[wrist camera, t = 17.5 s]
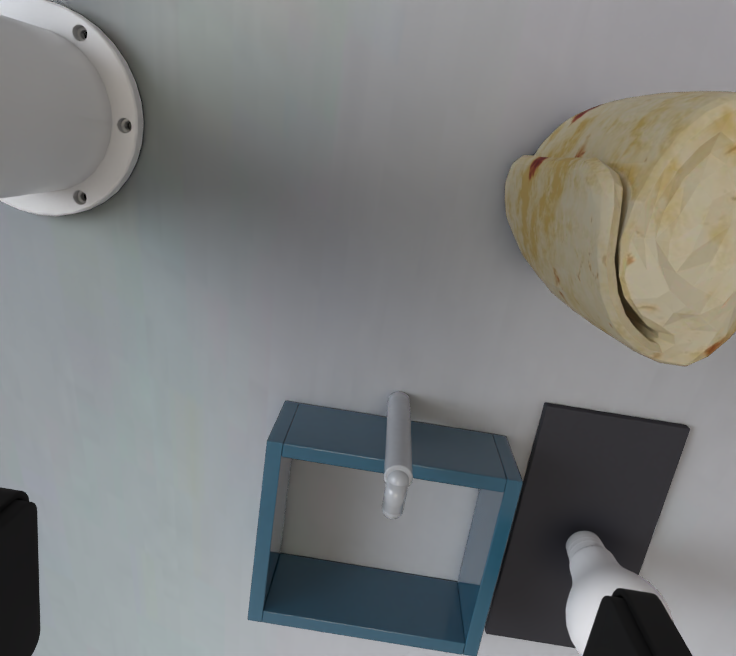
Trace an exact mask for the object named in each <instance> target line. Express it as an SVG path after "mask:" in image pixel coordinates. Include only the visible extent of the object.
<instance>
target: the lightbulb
mask: <svg viewBox="0 0 736 656" xmlns="http://www.w3.org/2000/svg"><path fill="white" fill-rule="evenodd" d="M566 550H567V554H568V557H569V561H570V564H569V567H570V572H571V576H572V582H573V583H572V588H571V590H570V593H569V596H568V600H567V604H566V626H567V629H568V633H569V635H570V638H571V641H572V642H573V644H574V646H575V647H576V649H577V651H578V652H579V654H580V655H581V656H583V653H584V650H585V647H586V644H587V641H588V638H589V635H590V632H591V629H592V626H593V623H594V620H595V617H596V614H597V611H598V608H599V605H600V602H601V600H602V598H603V597H604V596H607V595H608V596H612V594H613V592H614V591H615V590H616V589H617V588H624V589H630V590H636V591H642V592H648V593H653V594H655V595H657V596H658V598H659V599H660V600H661V602H662V603H663V605H664V607H665V609H666V611H667V612H668V614H669V616H670V618H671V619H672V621H673V618H672V614H671V611H670V609H669V607H668V605H667V603H666V601H665V600H664V598H663V596H662V595H661V594H660V593H659V592H658V590H657V589H656V588H655V587H654V586H653V585H652V584H651V583H650V582H648V581H647V580H645V579H644V578H642V577H641V576H639V575H637V574H635V573H634V572H631V571H629V570H627V569H625V568H623V567H622V566H620V564H619V563H618V562H617V561H616V559H615V558H614V556H613V555H612V553H611V552H610V551H608V550H607V549H606V548H605V547H604V545H603V543H602V542H601V540H600V539H599V537H598V536H597V535H596V534H594V533H592V532H590V531H578V532H576V533H574V534H572V535H571V536H570V537H569V538H568V540H567V542H566ZM673 623H674V622H673Z"/></svg>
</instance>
